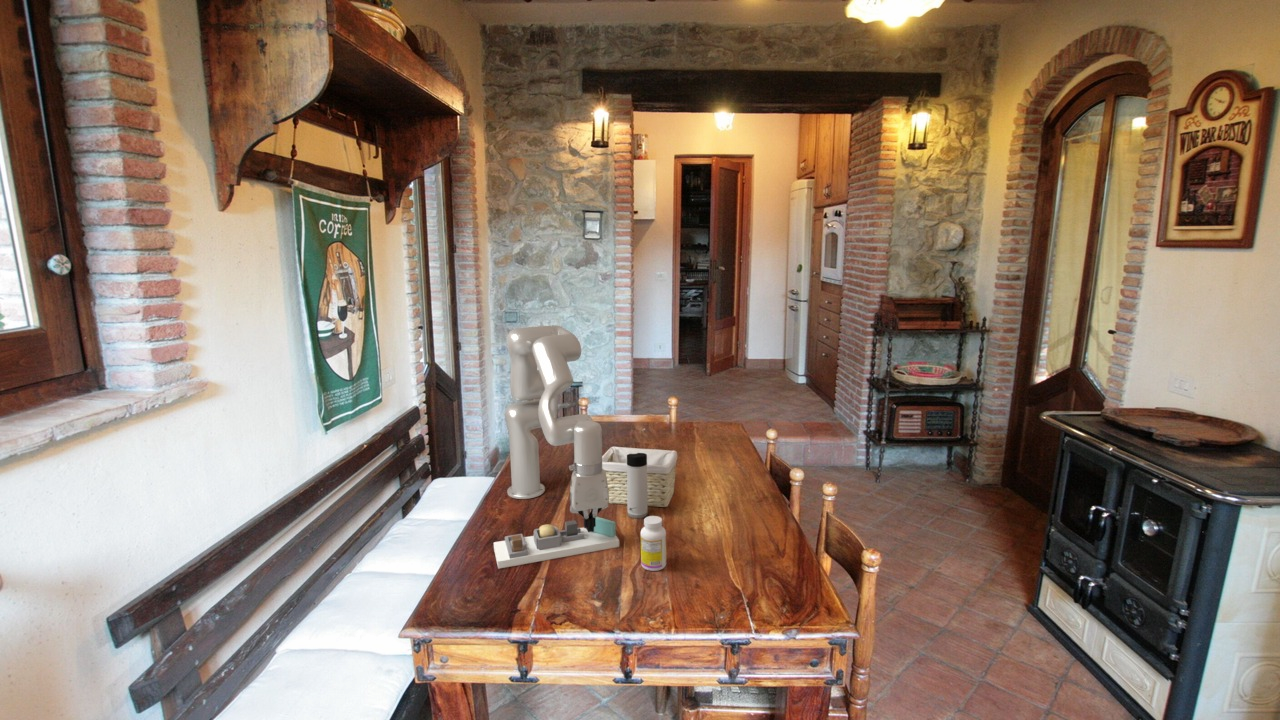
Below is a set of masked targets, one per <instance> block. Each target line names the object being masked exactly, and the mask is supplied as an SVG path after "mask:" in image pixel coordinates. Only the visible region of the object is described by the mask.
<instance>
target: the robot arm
mask: <svg viewBox="0 0 1280 720" xmlns="http://www.w3.org/2000/svg"><path fill="white" fill-rule="evenodd" d="M506 346H507V351H508V354H509V358H510V387H509V388H510V394H511V395H510V396H512V398H513V399H514V400H515V401H519V402H515V403H511V404H510V405H508V406H507V407H506V409H505V411H504V419H505V424H506V429H507V433H508V443H509V456H510V458H509V459H510V475H511V476H510V477H511V478H510V479H511V486H509V487H508V488H507V495H508V497H510V498H513V499H517V500H527V499H534V498H536V497H540V496H541V495H543V494H544V492H545V491H546V487H545V485H544V484H543V483H541V479H540V478H541V477H540V476H541V475H540V456H539V455H540V454H539V441H538V439H537V437H536V436H535V435H534V434H533V433H532V431H531V430H536V429H540V428H541V431H542V433H543V436H544V438H545V440H546V442H547V443H548V444H550V445H551V446H554V447H558V446H559V447H560V446H563V445H565V446H566V445H569V444H573V450H574V452H573V453H574V454H573V455H574V456H573V457H574V459H573V464H571V465H570V464H569V465H568V469H569V471H572V474H571V479H570V487H569V501H570V506H569V511H570V513H571V514H579V515H580V516H581V517H583V527H584V528H586V529H587V531H588V532H590V531H592V532H593V531H594V527H596V517H598V514H599V513H601V511H603V510H605V509H608V508H609V504H610V503H609V492H608V483H607V476H606V472H605V470H604V469H602V456H603V437H602V436H603V430H602V426H601V424H600V423H599V422H597V421H594V420H593V418H592V417H591V416H590V415H589V414H586V413H579V414H575V415H568V416H567V415H566V416H561V417H558V409H559V395H561V394H563V393H564V392H565V391H567V390H569V388H570V387H571V386H572V385H573V384H574V377H573V375H572V372H571V369H570V367H569V365H568V363H570V362H576V361H578V360H579V359H580V358H581V356H582V345H581V342H580V340H579V339H578V337H577V336H576V335H575V334H574V333H573V332H571V331H570V330H568V329H566V328H564V327H563V326H560V325H556V324H555V325H554V324H553V325H540V326H529V327H528V326H526V327H518V328H514V329H512V330H510V331H509V332H508V333H507V336H506ZM589 510H590V511H589Z"/></svg>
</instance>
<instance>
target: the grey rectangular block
mask: <svg viewBox="0 0 1280 720" xmlns="http://www.w3.org/2000/svg"><path fill="white" fill-rule="evenodd" d="M577 528H578V522H577V521H576V519H572V520H568V521H564V530H565V535H566V537H567V536H573V535H578V530H577Z"/></svg>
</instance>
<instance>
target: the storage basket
mask: <svg viewBox="0 0 1280 720" xmlns="http://www.w3.org/2000/svg"><path fill="white" fill-rule="evenodd" d="M637 453H645V454H647V505H648V507H657V508H659V507H661V508H666V507H668V506H669V504H670V502H671V500H672V498H673V495H674V492H675V483H676V482H675V481H676V464H677V460H678V452H677V451H676V450H668V449H667V450H665V449H655V448H653V449H652V448H639V447H638V448H635V447H625V446H623V447H621V446H610V448H609V449H608V450H607V451H606V452H605V453H604V454H602V469H604V470H605V472H606V476H607V483H608V492H609V504H612V505H613V504H618V505H627V455H628V454H637Z"/></svg>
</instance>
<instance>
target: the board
mask: <svg viewBox="0 0 1280 720" xmlns="http://www.w3.org/2000/svg"><path fill="white" fill-rule="evenodd" d="M577 530H578V535H573V536H567V537H566V535H565V529H564V530H563V529H562V530H559V527H558V526H555V525H554V524H542V525H540V526H539V528H535V529H534V530H533V535H530V536H524V535H523V533H517V534H516V535H520V534H521V537H522V544H523V551H517V552H513V550H512V536H514V535H515V534H511V535H506V536H504V540H499V541H495V542H493V551H494V555H495V561H496V564H497V569H498V570H499V569H500V570H501V569H504V568H505V569H506V568H509V567H516V566H522V565H525V564H526V565H527V564H532V563H533V564H534V563H537V562H543V561H549V560H554V559H560V558H564V557H565V558H566V557H570V556H576V555H577V556H578V555H581V554H587V553H593V552H599V551H603V550H604V551H605V550H609V549H614V548H619V547H620V539H619V537H618V536H617V535H615V536H614V537H610V536H607V535H603V534H600V533H597V532H588V531H587V529H586V528H584V526H583V527H577Z"/></svg>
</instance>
